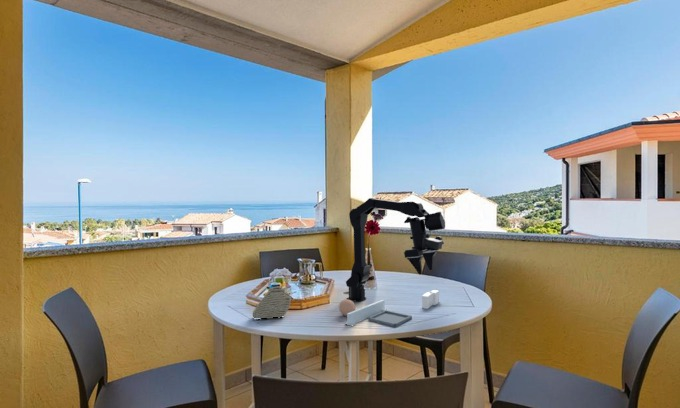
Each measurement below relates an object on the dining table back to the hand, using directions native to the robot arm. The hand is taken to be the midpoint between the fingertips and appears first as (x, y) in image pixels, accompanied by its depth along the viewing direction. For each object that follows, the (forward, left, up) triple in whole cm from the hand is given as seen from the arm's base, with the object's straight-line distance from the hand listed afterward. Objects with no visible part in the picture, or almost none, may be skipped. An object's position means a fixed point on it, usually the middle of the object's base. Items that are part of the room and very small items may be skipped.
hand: (425, 272), depth 139 cm
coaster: (-5, -19, -15) cm, 25 cm away
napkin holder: (-1, +7, -15) cm, 17 cm away
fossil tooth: (-41, -43, -15) cm, 61 cm away
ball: (-20, -25, -12) cm, 34 cm away
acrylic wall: (-13, -22, -15) cm, 29 cm away
